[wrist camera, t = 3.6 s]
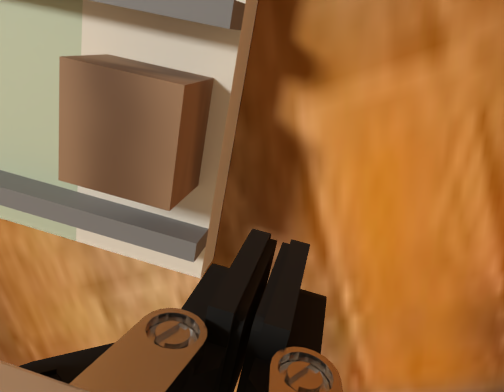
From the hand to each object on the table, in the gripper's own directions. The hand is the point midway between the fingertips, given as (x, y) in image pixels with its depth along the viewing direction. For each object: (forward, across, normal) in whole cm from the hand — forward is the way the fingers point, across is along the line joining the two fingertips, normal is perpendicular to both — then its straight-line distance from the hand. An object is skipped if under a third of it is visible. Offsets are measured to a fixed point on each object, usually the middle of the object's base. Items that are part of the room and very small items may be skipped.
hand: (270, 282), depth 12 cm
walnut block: (+11, +9, -1) cm, 14 cm away
